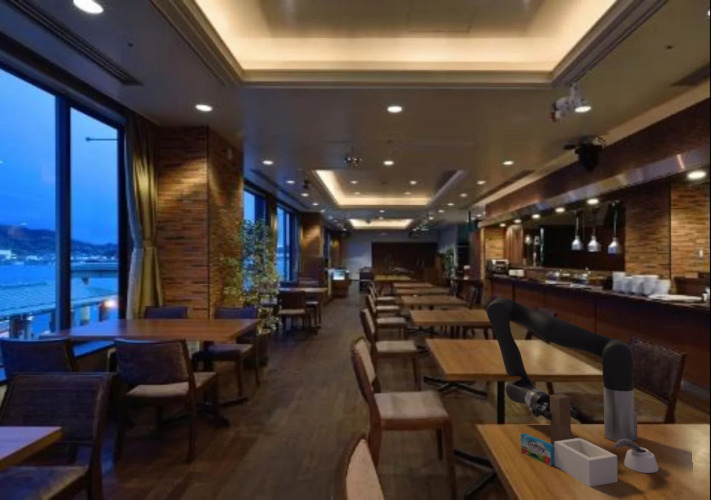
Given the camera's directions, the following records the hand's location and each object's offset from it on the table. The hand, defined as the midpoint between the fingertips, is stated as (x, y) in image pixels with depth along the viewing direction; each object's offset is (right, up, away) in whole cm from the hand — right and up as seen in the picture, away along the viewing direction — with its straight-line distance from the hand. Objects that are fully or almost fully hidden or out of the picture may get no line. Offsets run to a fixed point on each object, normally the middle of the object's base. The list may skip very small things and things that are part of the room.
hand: (563, 416), depth 162 cm
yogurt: (-10, -12, -4) cm, 16 cm away
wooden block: (0, -12, -1) cm, 12 cm away
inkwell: (+15, -12, -14) cm, 23 cm away
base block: (0, -12, -15) cm, 19 cm away
